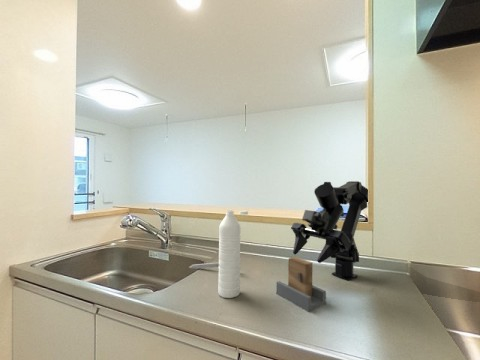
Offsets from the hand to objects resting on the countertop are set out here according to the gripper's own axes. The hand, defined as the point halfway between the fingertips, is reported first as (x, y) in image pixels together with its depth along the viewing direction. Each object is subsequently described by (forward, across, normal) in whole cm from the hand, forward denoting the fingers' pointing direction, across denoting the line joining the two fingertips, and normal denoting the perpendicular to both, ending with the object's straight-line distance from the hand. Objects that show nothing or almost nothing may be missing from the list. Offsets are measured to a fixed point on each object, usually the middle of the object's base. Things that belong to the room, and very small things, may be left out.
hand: (305, 257), depth 70 cm
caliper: (+18, -33, -1) cm, 38 cm away
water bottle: (+20, -13, -4) cm, 25 cm away
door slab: (+9, 0, +6) cm, 11 cm away
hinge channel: (+10, 0, +6) cm, 12 cm away
